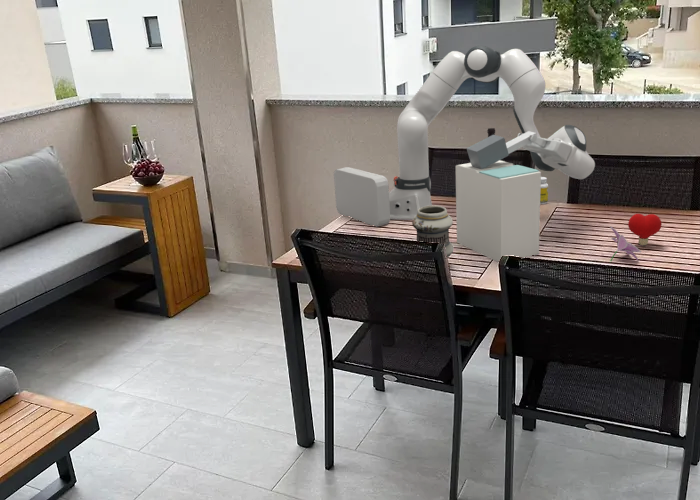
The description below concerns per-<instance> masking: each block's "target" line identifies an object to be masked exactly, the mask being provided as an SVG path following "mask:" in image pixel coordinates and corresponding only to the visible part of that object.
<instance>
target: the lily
mask: <svg viewBox="0 0 700 500" xmlns="http://www.w3.org/2000/svg"><path fill="white" fill-rule="evenodd" d="M609 228H610V229H611V230H612V231H613V233H614V235H615V237H611V238H610V239H611V240H612V241H614V242H615V243H617V248H616V251H615V252H614V253H613V255H612V257H611V259H610V261H611V262H612V260H613V259H614V257H615V256H616V254H617V253H618V252H625V253H626V254H627V255H629V256H630V255H631V256H632V257H633V258H634V259H636V261H639V258H638V257H637V255H636V254H635V253H642V251H641V250H640V248H638V247H637V246H636V245H634V244H633V243H631V242H630V241H628V240H627V239H626V238H625V236H624V235H623V234H620V233H619V232H618V230H617V229H615V228H614V227H612V226H611V225H609ZM639 262H640V261H639Z"/></svg>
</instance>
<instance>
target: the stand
mask: <svg viewBox="0 0 700 500" xmlns="http://www.w3.org/2000/svg"><path fill="white" fill-rule="evenodd" d="M539 170H540V169H537V168H536V169H535V168H531V167H528V166H524V165H520V164H516V165H515V164H514V163H512V162H507V161H505V160H502V159H501V160H499V161H497V162H495V163H493V164H491V165H490V166H488V167H486V168H484V169H479V168H476V167H474V166H472V165H471V162H468V163H463V164H462V163H461V164H456V165H455V205H456V207H455V211H456V218H455V221H456V243H457V244H459V245H462V246H464V247H466V248H468V249H470V250H473V251H474V252H476V253H478V254H481V255H483V256H485V257H487V258H489V259H491V260H493V261H495V262H497V263H499V262H498V261H499V260H500V258H501V257H502V256H504V255H514V256H519V257H526V258H528V257H527V256H530V257H532V255H534V256H537V255H540V227H541V226H540V225H541V224H540V222H541V221H540V220H541V204H540V191H541V177H542V171H539Z"/></svg>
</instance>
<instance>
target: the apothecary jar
mask: <svg viewBox="0 0 700 500" xmlns="http://www.w3.org/2000/svg"><path fill="white" fill-rule="evenodd" d="M453 222H454V220H453V218H452V216H450V214H448V210H447V208H446V207H445V206H442V205H433V204H432V206H424V207H421V208H419V209H418V212H417V216H415V217H414V219H413V220H412V223H411V224H412V227H413V228H414V229H415V231H416V242H417V241H423V242H439V243H444V244H445V247H446V254H447V258H449V257H450V256H451V255H452V254H453V253H454V251H455V250H454V244H453V243H452V242H451V241H450V234H449V229H450V228H451V227H452V225H453ZM449 267H450V268H451V264H450V263H449Z"/></svg>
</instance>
